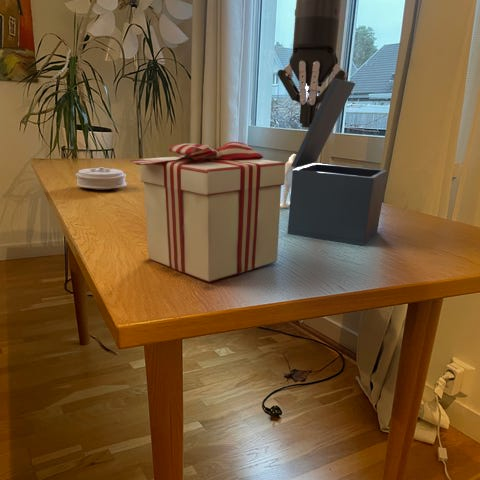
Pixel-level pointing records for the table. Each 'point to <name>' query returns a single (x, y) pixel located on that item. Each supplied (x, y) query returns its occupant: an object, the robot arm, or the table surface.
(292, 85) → the robot arm
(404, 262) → the table surface
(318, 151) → the chest lid
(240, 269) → the gift box
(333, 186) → the chest
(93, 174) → the lid
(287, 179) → the figurine
